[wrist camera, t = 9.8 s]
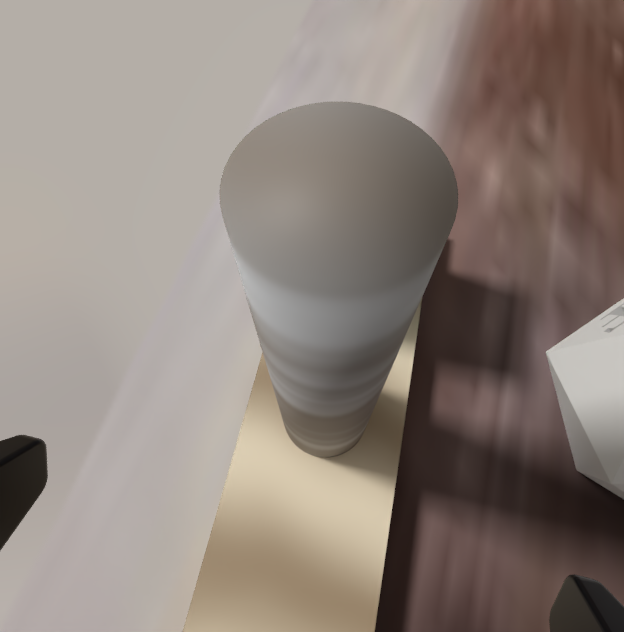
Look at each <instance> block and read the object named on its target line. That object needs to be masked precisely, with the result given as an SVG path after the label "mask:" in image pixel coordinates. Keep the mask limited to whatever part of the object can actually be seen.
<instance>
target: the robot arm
mask: <svg viewBox="0 0 624 632" xmlns="http://www.w3.org/2000/svg"><path fill="white" fill-rule="evenodd" d="M47 476H48V475H47V452H46V444H45V442H44V441H43V440H41V439H39V438H34V437H31V436H27V435H18V436H15V437H12V438H9V439H5V440H2V441H0V550H1V549H2V548H3V546H4V545H5V543H6V542H7V541H8V539H9V538H10V536H11V535H12V533H13V532H14V531H15V529H16V528H17V526H18V525H19V524H20V522H21V521H22V519H23V518H24V517H25V515H26V514H27V512H28V511H29V510H30V508H31V507H32V505H33V504H34V502H35V501H36V500H37V498H38V497H39V495H40V494H41V493H42V491H43V489H44V487H45V485H46V482H47ZM549 621H550V632H624V606H623V605H622V604H621V603H620V602H619V601H618V600H617V599H616V598H615V597H614V596H613V595H612V594H611V593H610V592H609V591H608V590H607V589H606V588H605V587H604V586H603V585H602V584H601V583H600V582H598V581H596V580H594V579H590V578H586V577H582V576H578V575H569V576H568V577H567V578H566V579H565V581H564V583H563V585H562V587H561V589H560V592H559V594H558V596H557V598H556V600H555V602H554V604H553V606H552V609H551V612H550V619H549Z"/></svg>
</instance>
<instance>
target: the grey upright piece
mask: <svg viewBox="0 0 624 632" xmlns="http://www.w3.org/2000/svg"><path fill="white" fill-rule="evenodd" d="M220 206H221V212H222V216H223V220H224V223H225V227H226V230H227V233H228V237H229V240H230V243H231V247H232V250H233V254H234V257H235V260H236V264H237V267H238V270H239V274H240V277H241V281H242V284H243V287H244V291H245V294H246V297H247V301H248V304H249V308H250V311H251V314H252V318H253V321H254V324H255V328H256V331H257V335H258V338H259V341H260V345H261V348H262V352H263V353H262V356H261V360H260V363H259V367H258V370H257V374H256V377H255V381H254V384H253V388H252V391H251V395H250V398H249V402H248V405H247V409H246V412H245V416H244V419H243V423H242V426H241V430H240V433H239V437H238V440H237V444H236V447H235V451H234V454H233V458H232V461H231V464H230V468H229V471H228V475H227V478H226V482H225V485H224V489H223V492H222V496H221V499H220V503H219V506H218V510H217V513H216V517H215V520H214V524H213V527H212V531H211V534H210V538H209V541H208V545H207V548H206V552H205V555H204V559H203V562H202V566H201V569H200V573H199V576H198V580H197V583H196V587H195V590H194V594H193V597H192V601H191V604H190V608H189V611H188V615H187V618H186V622H185V625H184V629H183V632H375V625H376V618H377V611H378V604H379V597H380V590H381V583H382V576H383V569H384V562H385V555H386V548H387V541H388V534H389V527H390V520H391V513H392V506H393V499H394V492H395V485H396V478H397V471H398V464H399V457H400V450H401V443H402V436H403V429H404V422H405V415H406V408H407V401H408V394H409V387H410V380H411V373H412V366H413V359H414V352H415V345H416V338H417V331H418V324H419V317H420V310H421V303H422V296H423V294H424V292H425V289H426V287H427V285H428V282H429V280H430V278H431V275H432V273H433V271H434V268H435V266H436V264H437V261H438V259H439V257H440V254H441V252H442V250H443V247H444V245H445V243H446V241H447V238H448V236H449V234H450V231H451V229H452V226H453V223H454V221H455V217H456V213H457V208H458V189H457V182H456V178H455V175H454V172H453V169H452V167H451V165H450V163H449V161H448V158H447V157H446V155H445V154H444V152H443V151H442V149H441V148H440V147H439V146H438V144H437V143H436V142H435V141H434V140H433V139H432V138H431V137H430V136H429V135H428V134H427V133H426V132H424V131H423V130H422V129H421V128H419V127H418V126H416V125H415V124H414V123H412V122H411V121H409V120H407V119H405V118H403V117H401V116H399V115H397V114H395V113H392V112H390V111H387V110H385V109H381V108H378V107H375V106H370V105H365V104H360V103H351V102H323V103H314V104H309V105H304V106H300V107H297V108H293V109H290V110H287V111H285V112H282V113H280V114H277V115H276V116H274V117H272V118H270V119H268V120H266V121H265V122H263V123H262V124H260V125H259V126H257V127H256V128H254V129H253V130H252V131H251V132H250V133H249V134H248V135H246V136H245V137H244V139H243V140H242V141H241V142H240V143H239V144H238V145H237V147H236V148H235V150H234V151H233V153H232V154H231V156H230V157H229V160H228V162H227V164H226V166H225V168H224V171H223V175H222V178H221V184H220Z"/></svg>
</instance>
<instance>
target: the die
mask: <svg viewBox="0 0 624 632" xmlns="http://www.w3.org/2000/svg"><path fill="white" fill-rule="evenodd" d="M546 355H547V359H548V362H549V366H550V370H551V374H552V378H553V382H554V386H555V390H556V393H557V397H558V401H559V405H560V409H561V413H562V417H563V421H564V424H565V428H566V432H567V436H568V440H569V444H570V448H571V452H572V455H573V459H574V463H575V467H576V470H577V471H578V472H580V473H582V474H583V475H585V476H586V477H588V478H590V479H591V480H593V481H595V482H596V483H598V484H599V485H601V486H603V487H604V488H606V489H608V490H609V491H611V492H613V493H614V494H616V495H617V496H619V497H621V498H622V499H624V299H622V300H621V301H619V302H618V303H616V304H615V305H613V306H612V307H610V308H609V309H608V310H606V311H605V312H603V313H602V314H600V315H599V316H597V317H596V318H594V319H593V320H592V321H590V322H589V323H587V324H586V325H584V326H583V327H581V328H580V329H578V330H577V331H576V332H574V333H573V334H571V335H570V336H568V337H567V338H565V339H564V340H562V341H561V342H560V343H558V344H557V345H555V346H554V347H552V348H551V349H549V350H548V351H546Z"/></svg>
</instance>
